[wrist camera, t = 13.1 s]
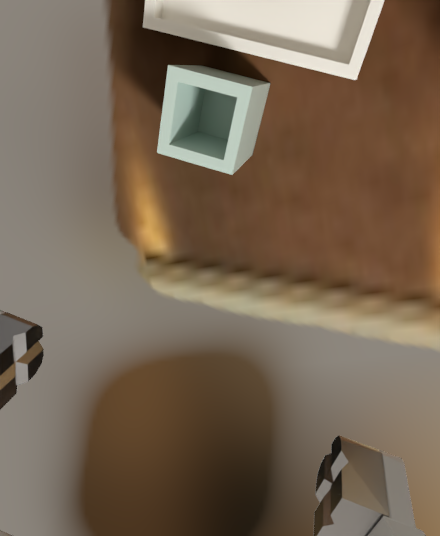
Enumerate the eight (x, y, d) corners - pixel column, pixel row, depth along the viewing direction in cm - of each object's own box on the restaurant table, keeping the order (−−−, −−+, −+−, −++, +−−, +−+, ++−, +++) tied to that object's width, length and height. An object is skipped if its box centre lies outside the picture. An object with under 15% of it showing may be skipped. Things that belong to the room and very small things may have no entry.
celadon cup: (270, 83, 37) (252, 87, 29) (252, 154, 41) (232, 174, 33) (202, 65, 38) (168, 64, 30) (190, 137, 42) (156, 152, 34)
